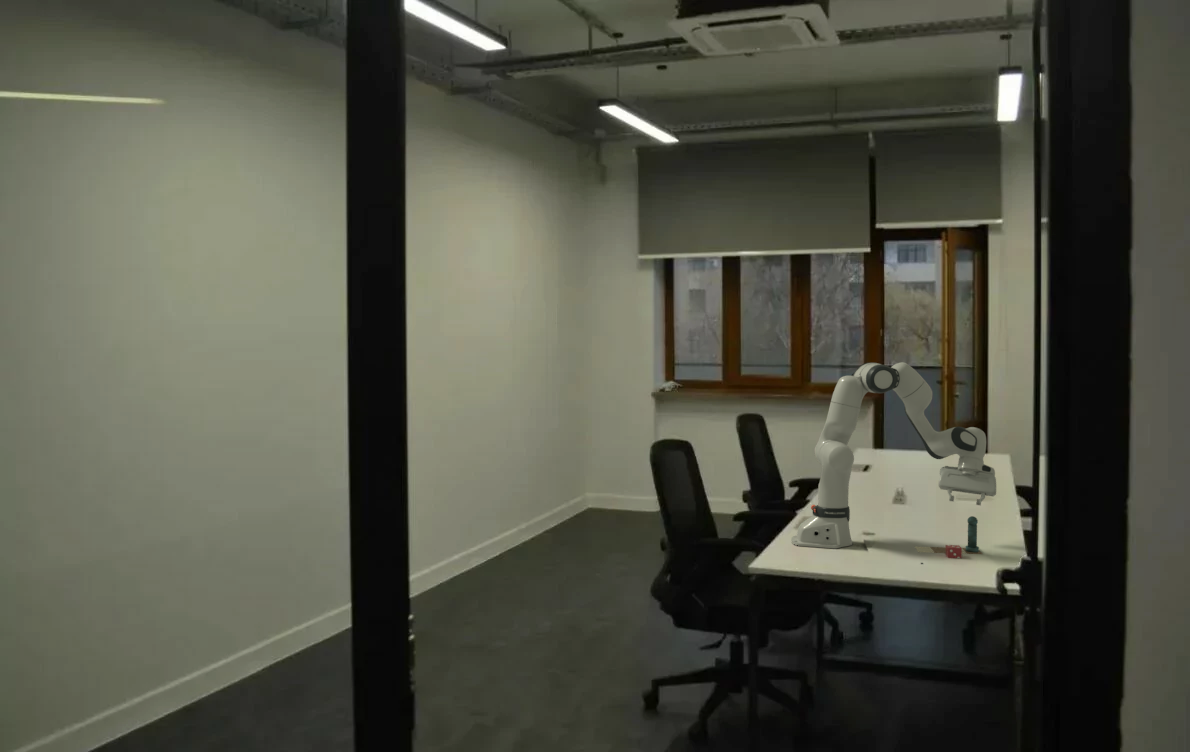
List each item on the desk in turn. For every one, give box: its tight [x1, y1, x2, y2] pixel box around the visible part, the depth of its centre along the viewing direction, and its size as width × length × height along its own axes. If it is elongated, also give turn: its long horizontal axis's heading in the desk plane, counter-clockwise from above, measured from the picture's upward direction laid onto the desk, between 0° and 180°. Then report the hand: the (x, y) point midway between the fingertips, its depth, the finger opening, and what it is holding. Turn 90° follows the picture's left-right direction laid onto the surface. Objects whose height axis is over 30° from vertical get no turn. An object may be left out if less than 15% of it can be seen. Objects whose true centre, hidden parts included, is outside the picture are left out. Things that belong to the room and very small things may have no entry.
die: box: [945, 544, 963, 559], centre depth 335 cm, size 4×5×5 cm
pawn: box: [965, 516, 980, 552], centre depth 343 cm, size 4×4×12 cm
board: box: [914, 545, 984, 555], centre depth 345 cm, size 23×10×1 cm, turn 80°
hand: (964, 502), depth 355 cm, fingers open, 8 cm apart
